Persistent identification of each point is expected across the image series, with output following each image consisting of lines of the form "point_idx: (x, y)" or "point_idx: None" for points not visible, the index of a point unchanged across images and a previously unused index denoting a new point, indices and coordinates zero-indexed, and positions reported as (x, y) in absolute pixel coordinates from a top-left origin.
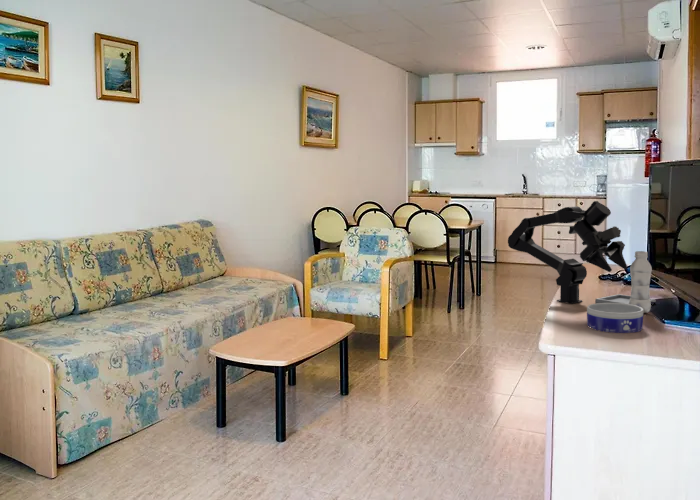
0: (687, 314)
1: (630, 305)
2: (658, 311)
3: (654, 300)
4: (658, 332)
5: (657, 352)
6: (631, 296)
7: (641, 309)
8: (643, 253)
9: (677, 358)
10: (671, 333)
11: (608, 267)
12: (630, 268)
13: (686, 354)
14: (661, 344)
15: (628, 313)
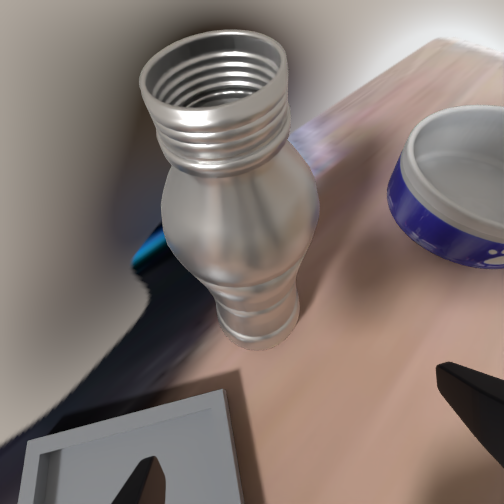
0: (149, 243)
1: (421, 173)
2: (179, 310)
3: (41, 438)
4: (380, 139)
5: (473, 63)
6: (294, 304)
7: (425, 123)
8: (247, 42)
9: (457, 43)
10: (358, 128)
11: (494, 381)
12: (311, 237)
13: (429, 51)
14: (435, 87)
15: (491, 105)
